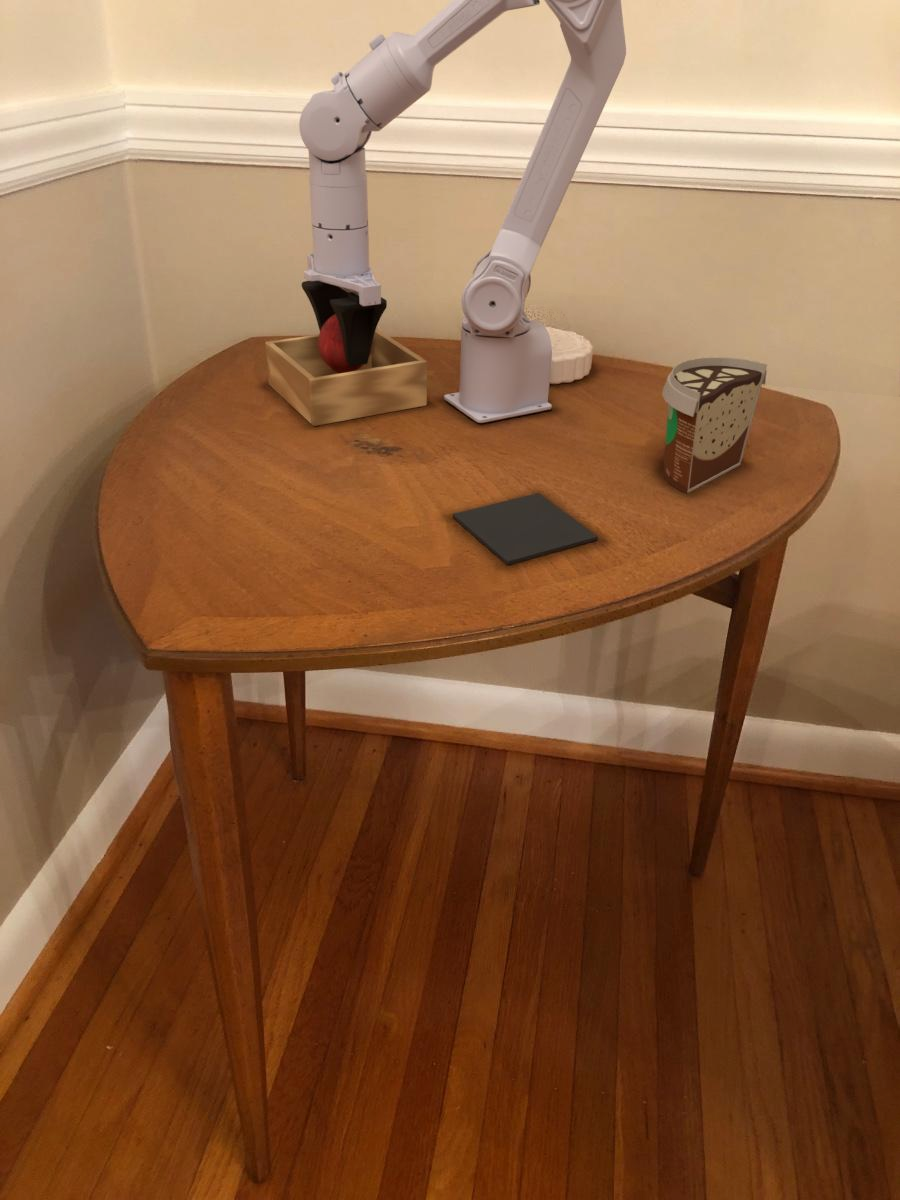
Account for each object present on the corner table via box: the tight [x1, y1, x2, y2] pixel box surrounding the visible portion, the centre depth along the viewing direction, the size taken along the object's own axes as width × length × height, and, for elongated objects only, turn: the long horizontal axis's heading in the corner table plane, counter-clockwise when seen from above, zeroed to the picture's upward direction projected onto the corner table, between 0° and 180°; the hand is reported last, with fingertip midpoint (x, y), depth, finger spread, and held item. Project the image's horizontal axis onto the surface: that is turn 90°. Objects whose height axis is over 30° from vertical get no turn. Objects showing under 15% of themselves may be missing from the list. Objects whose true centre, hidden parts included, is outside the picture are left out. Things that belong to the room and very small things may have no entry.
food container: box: [661, 356, 768, 494], centre depth 89 cm, size 12×6×10 cm, turn 135°
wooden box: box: [264, 327, 428, 427], centre depth 104 cm, size 13×13×5 cm
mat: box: [452, 492, 599, 566], centre depth 81 cm, size 9×9×1 cm
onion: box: [319, 314, 372, 374], centre depth 102 cm, size 6×6×8 cm
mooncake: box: [544, 326, 594, 385], centre depth 114 cm, size 12×12×4 cm
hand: (345, 355), depth 103 cm, fingers closed on onion, 6 cm apart
